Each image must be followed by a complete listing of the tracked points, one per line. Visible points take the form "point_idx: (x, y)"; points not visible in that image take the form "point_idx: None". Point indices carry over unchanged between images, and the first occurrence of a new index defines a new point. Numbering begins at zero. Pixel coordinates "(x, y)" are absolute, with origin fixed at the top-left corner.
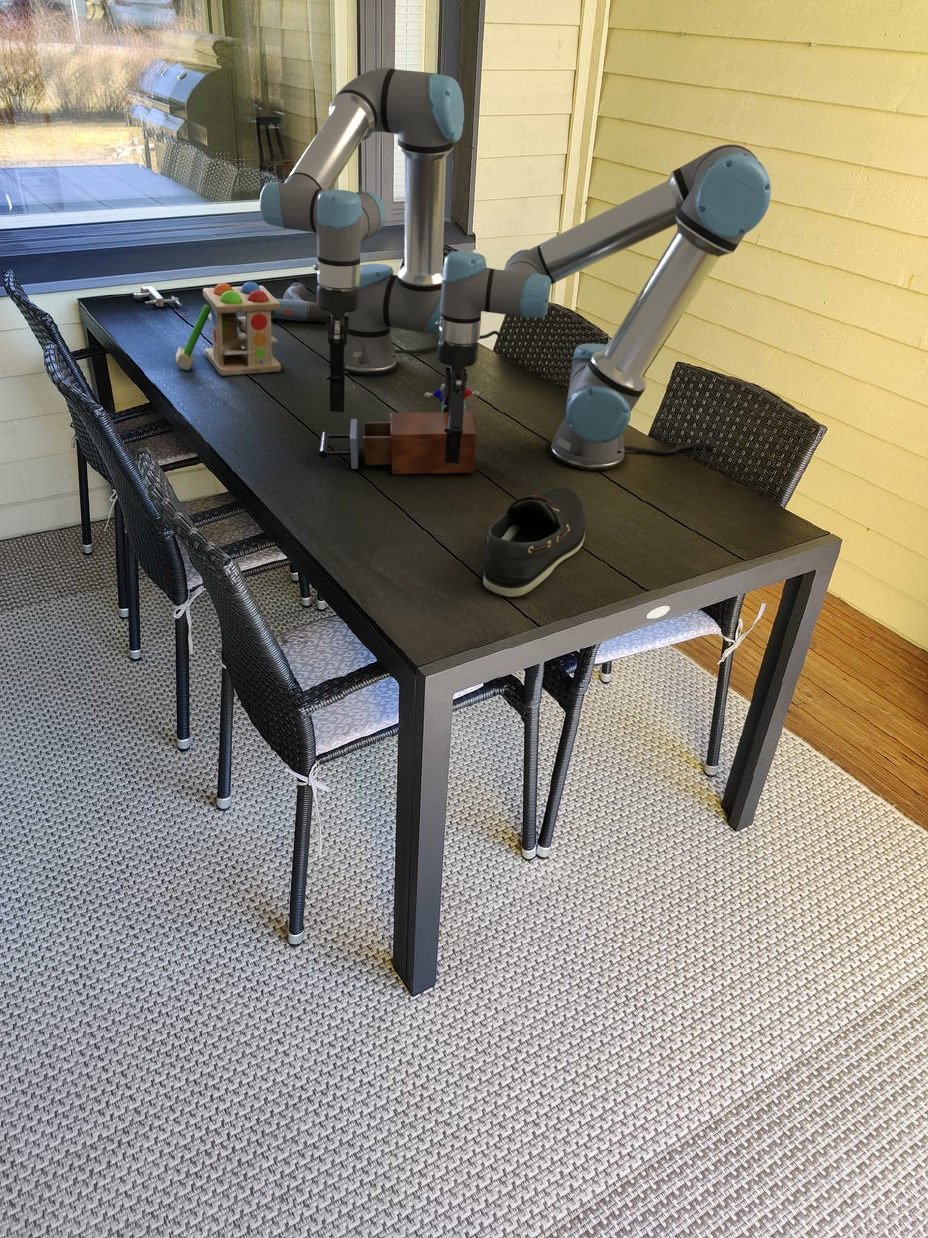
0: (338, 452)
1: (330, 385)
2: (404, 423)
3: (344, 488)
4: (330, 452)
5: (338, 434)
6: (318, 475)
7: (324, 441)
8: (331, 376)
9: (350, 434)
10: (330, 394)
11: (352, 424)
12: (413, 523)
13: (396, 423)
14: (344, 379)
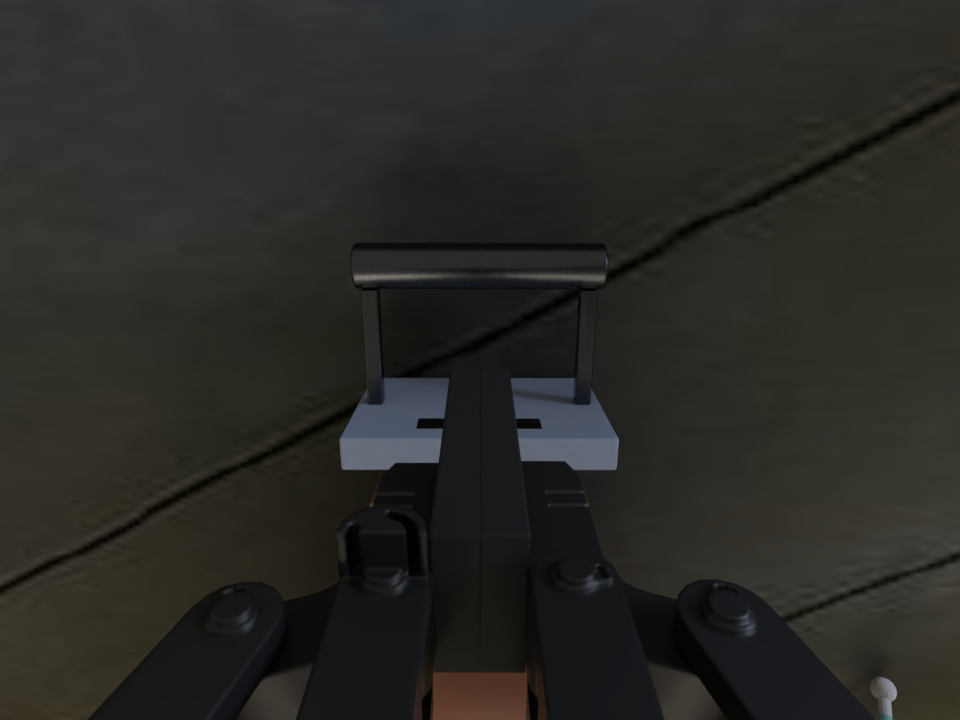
0: (365, 346)
1: (436, 490)
2: (475, 705)
3: (202, 348)
4: (363, 306)
5: (591, 338)
6: (302, 232)
7: (472, 272)
8: (172, 646)
9: (398, 439)
10: (443, 438)
11: (538, 447)
12: (3, 576)
13: (476, 673)
14: (451, 666)
